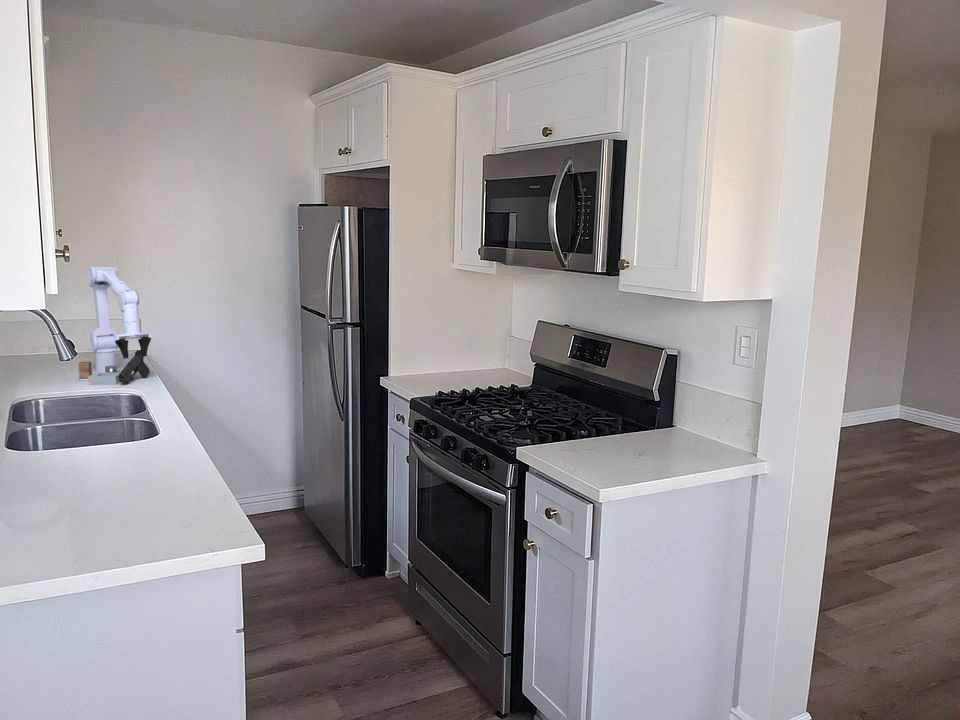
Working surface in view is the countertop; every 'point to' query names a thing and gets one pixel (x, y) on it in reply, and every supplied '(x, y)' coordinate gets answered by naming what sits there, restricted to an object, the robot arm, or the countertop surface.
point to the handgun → (137, 366)
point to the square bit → (85, 370)
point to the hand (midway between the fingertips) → (135, 357)
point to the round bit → (111, 368)
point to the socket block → (104, 378)
